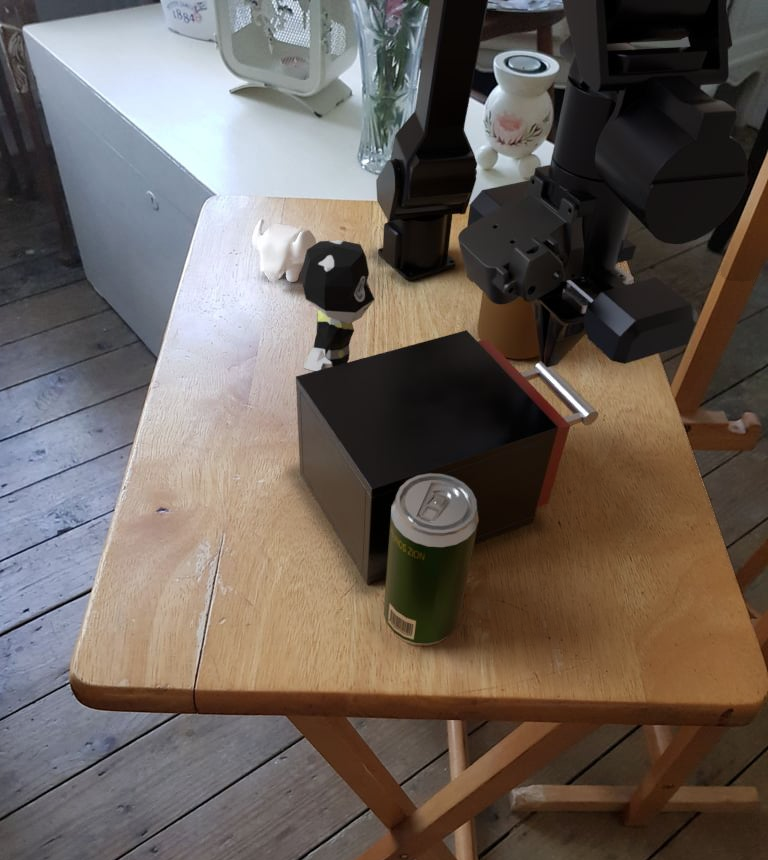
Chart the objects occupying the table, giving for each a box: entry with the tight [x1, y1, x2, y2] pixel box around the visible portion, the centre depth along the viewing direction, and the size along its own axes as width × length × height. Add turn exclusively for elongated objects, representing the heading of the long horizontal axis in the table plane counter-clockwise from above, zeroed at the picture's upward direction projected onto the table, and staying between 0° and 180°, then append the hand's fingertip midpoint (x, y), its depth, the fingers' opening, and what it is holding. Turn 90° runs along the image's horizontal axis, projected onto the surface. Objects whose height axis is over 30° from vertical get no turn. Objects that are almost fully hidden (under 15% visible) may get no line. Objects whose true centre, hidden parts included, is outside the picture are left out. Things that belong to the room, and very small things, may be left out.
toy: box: [300, 239, 375, 372], centre depth 68 cm, size 13×6×15 cm, turn 168°
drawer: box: [477, 339, 599, 508], centre depth 64 cm, size 18×11×8 cm, turn 117°
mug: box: [477, 291, 540, 360], centre depth 79 cm, size 12×8×9 cm, turn 173°
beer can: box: [383, 473, 479, 647], centre depth 53 cm, size 5×5×12 cm
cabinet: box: [295, 329, 558, 586], centre depth 62 cm, size 15×13×10 cm
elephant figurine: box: [251, 218, 317, 284], centre depth 85 cm, size 7×8×6 cm
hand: (549, 363), depth 62 cm, fingers closed
